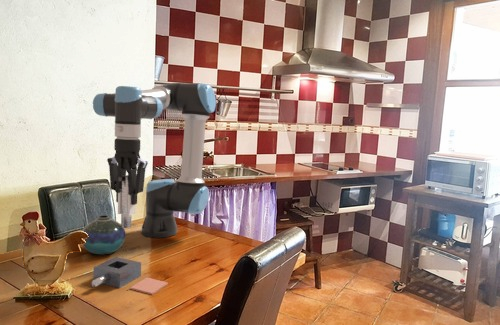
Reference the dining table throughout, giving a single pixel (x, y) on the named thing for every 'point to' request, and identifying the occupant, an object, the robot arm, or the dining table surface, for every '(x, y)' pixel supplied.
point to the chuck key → (125, 202)
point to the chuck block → (116, 272)
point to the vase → (104, 235)
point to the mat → (149, 286)
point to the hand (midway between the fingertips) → (126, 213)
